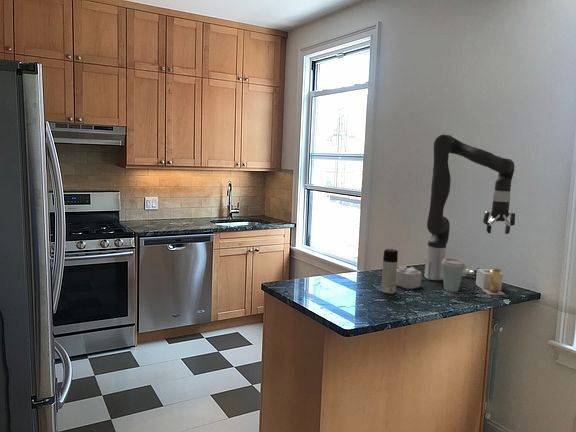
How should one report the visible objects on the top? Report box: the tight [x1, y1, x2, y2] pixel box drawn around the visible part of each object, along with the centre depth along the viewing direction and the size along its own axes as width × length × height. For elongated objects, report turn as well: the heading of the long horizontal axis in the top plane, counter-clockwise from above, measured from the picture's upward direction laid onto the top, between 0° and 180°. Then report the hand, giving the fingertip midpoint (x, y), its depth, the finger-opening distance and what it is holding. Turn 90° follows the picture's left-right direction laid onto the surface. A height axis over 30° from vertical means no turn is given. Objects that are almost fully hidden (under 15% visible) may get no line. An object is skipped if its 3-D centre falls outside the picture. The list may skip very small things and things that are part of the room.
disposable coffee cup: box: [442, 257, 466, 293], centre depth 231 cm, size 11×11×15 cm
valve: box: [462, 263, 481, 280], centre depth 258 cm, size 7×7×12 cm
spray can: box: [380, 248, 399, 294], centre depth 224 cm, size 7×7×20 cm
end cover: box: [489, 267, 501, 293], centre depth 229 cm, size 4×4×11 cm
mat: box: [482, 289, 506, 296], centre depth 230 cm, size 8×7×1 cm
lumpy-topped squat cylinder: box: [396, 265, 422, 290], centre depth 239 cm, size 10×13×9 cm
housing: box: [475, 268, 504, 291], centre depth 239 cm, size 9×9×8 cm
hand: (497, 233), depth 232 cm, fingers open, 8 cm apart
